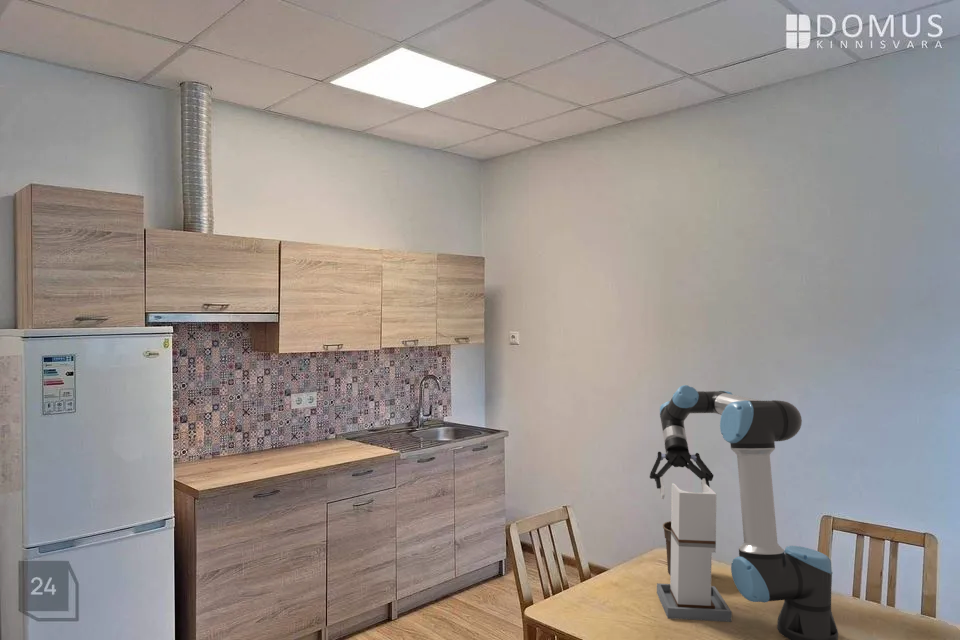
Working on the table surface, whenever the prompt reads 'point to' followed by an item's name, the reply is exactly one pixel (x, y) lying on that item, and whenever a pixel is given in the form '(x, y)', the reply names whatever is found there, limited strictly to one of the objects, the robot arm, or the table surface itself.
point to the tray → (673, 612)
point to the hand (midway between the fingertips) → (684, 497)
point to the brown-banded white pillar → (692, 547)
